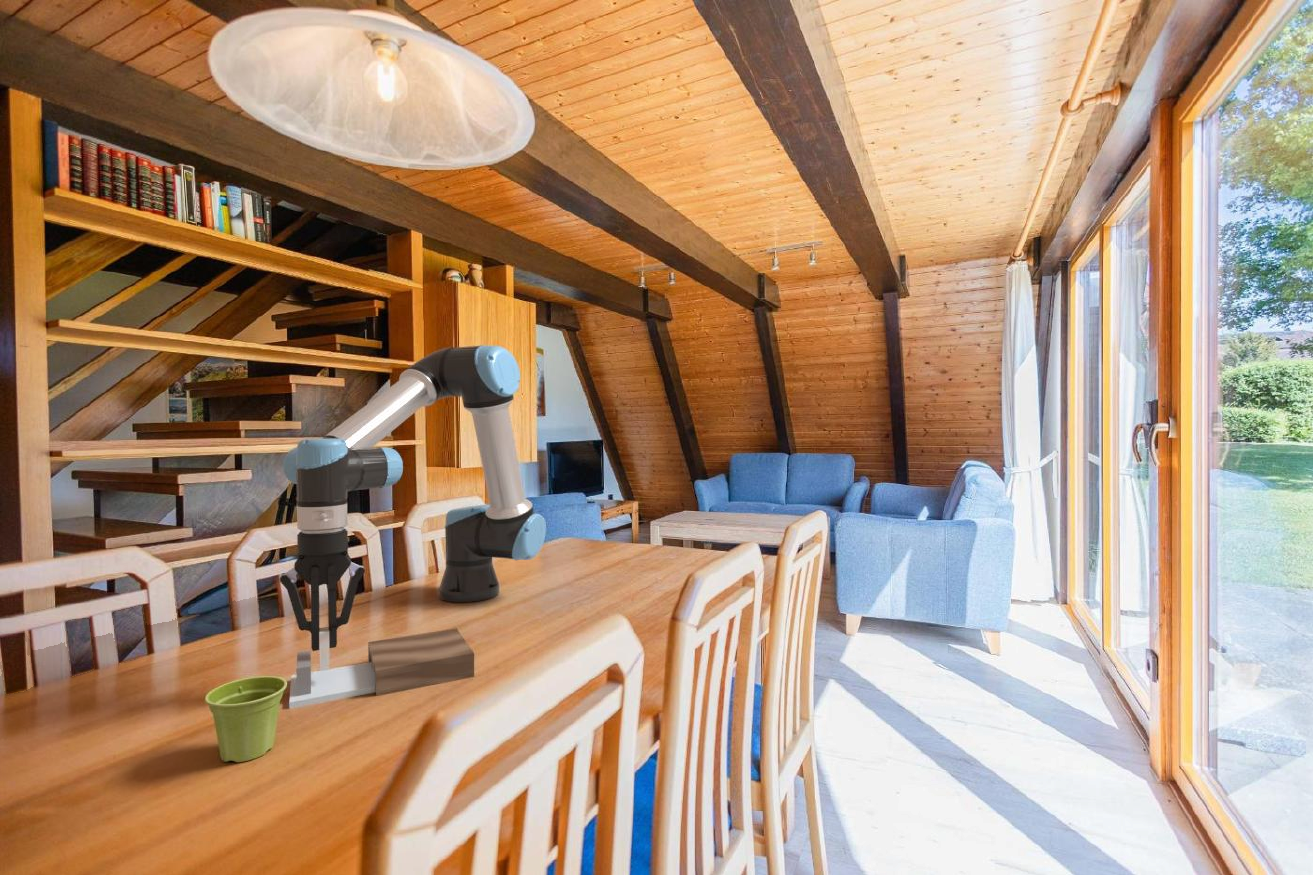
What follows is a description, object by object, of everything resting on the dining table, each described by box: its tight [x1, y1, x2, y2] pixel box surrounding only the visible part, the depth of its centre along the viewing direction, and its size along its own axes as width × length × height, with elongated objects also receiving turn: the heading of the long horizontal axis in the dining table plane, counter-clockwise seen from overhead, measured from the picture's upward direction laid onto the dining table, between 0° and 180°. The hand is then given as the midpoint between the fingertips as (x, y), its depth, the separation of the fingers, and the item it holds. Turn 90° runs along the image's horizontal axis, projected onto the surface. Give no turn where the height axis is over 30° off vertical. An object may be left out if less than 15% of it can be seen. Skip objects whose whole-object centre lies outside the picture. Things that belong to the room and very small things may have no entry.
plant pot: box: [204, 675, 288, 763], centre depth 86 cm, size 9×9×9 cm
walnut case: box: [367, 628, 475, 696], centre depth 114 cm, size 15×16×4 cm
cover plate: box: [288, 650, 375, 710], centre depth 109 cm, size 12×24×6 cm, turn 119°
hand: (324, 667), depth 106 cm, fingers closed
